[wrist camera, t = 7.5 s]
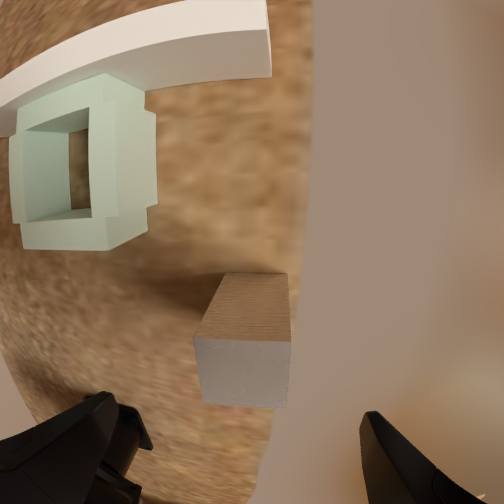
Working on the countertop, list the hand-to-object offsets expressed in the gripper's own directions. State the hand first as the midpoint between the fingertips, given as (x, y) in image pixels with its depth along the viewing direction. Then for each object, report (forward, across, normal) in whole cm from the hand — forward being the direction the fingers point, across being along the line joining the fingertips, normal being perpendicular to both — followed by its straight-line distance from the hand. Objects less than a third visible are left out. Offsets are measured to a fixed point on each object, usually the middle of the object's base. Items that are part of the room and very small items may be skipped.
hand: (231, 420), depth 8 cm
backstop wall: (+9, +10, -14) cm, 20 cm away
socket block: (+9, +10, -9) cm, 16 cm away
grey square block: (+9, 0, 0) cm, 9 cm away
